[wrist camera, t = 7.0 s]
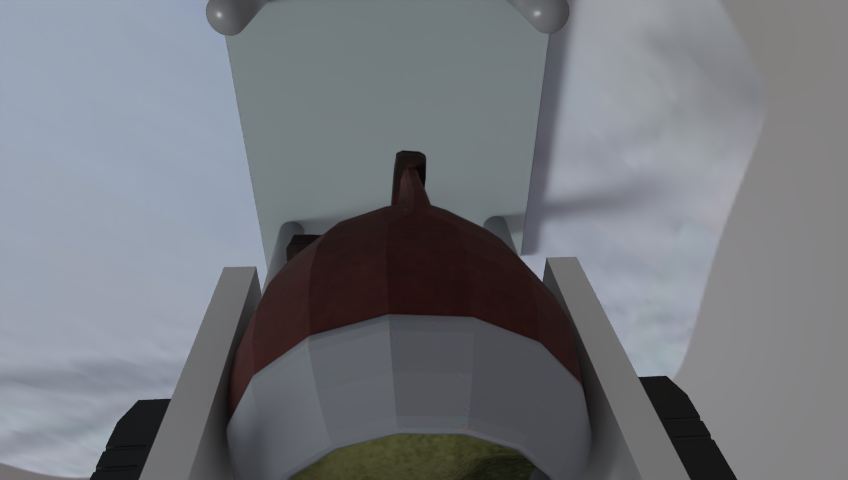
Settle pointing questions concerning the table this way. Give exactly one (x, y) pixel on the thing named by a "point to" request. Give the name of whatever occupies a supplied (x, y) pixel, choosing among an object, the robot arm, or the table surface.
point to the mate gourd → (407, 356)
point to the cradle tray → (386, 106)
